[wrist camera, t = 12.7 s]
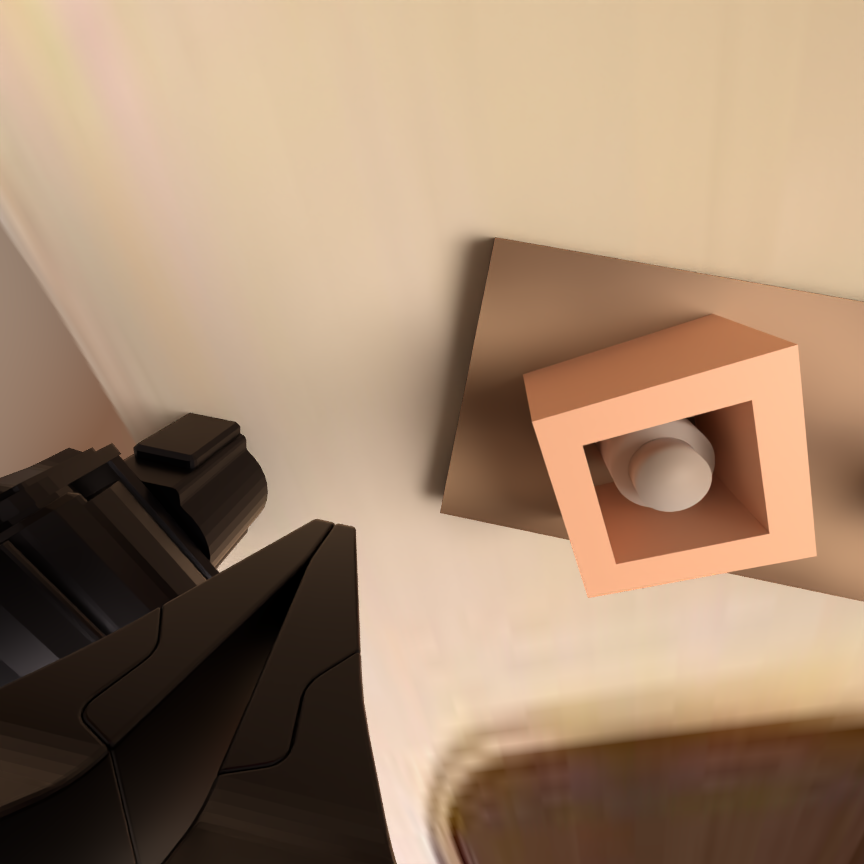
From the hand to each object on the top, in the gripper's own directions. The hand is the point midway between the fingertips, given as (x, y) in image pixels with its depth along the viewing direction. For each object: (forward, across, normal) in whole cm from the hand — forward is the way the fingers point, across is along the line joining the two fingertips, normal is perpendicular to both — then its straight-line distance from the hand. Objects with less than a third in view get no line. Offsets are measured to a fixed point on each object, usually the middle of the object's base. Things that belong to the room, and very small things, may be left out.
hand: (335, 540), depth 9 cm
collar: (+10, -9, 0) cm, 14 cm away
